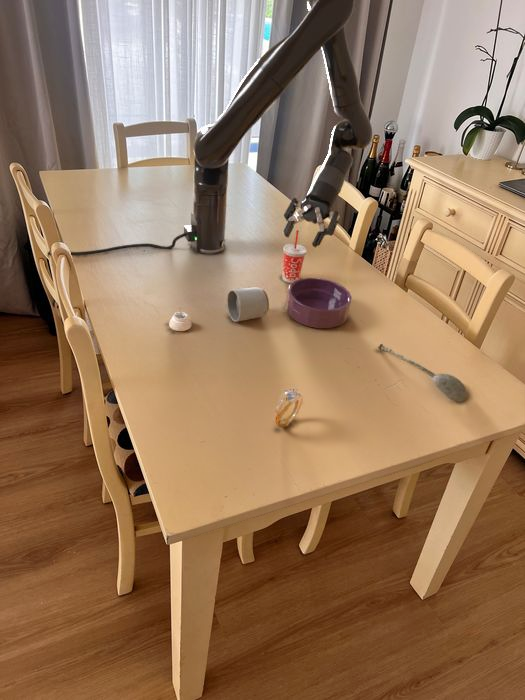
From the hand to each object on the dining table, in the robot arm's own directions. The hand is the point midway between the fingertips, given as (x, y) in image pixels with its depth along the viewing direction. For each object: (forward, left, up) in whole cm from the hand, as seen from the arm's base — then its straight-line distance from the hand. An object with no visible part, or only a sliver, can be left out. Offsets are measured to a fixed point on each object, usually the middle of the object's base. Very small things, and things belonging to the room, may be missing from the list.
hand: (299, 240), depth 136 cm
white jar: (-37, -15, -11) cm, 41 cm away
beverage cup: (-2, -1, -11) cm, 11 cm away
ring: (-27, -51, -11) cm, 59 cm away
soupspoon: (+8, -46, -11) cm, 48 cm away
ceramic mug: (-21, -14, -11) cm, 27 cm away
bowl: (-3, -18, -10) cm, 21 cm away
